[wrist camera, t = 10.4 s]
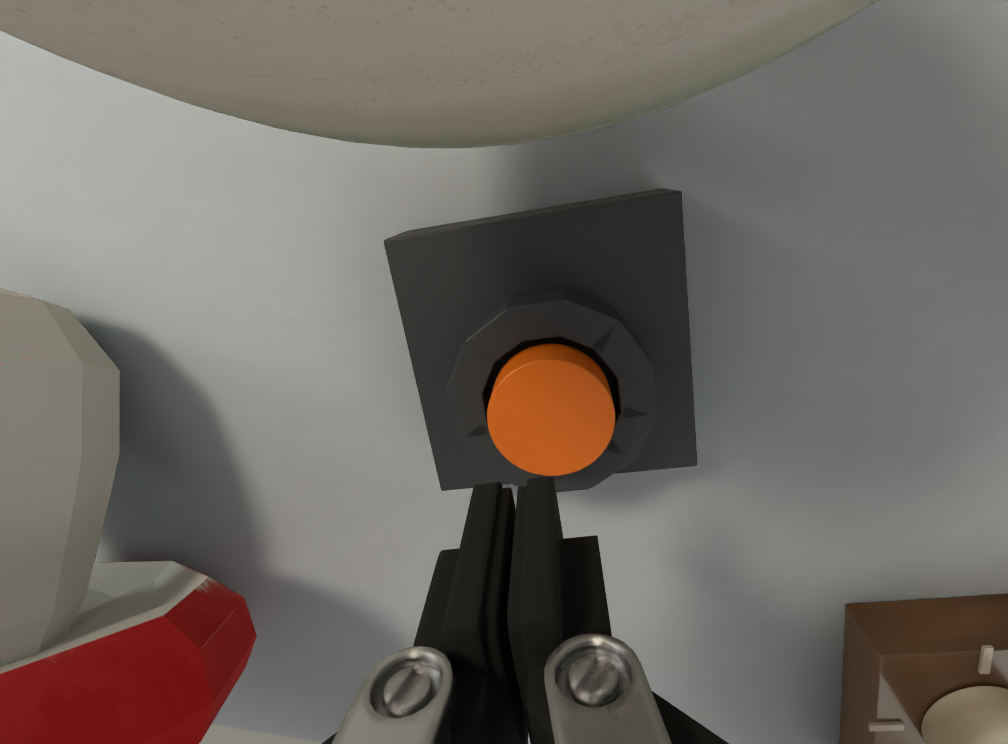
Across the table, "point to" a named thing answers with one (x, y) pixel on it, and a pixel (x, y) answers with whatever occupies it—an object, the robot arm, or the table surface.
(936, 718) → the dial
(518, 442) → the orange push button
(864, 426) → the table surface
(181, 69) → the planter
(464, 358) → the button base
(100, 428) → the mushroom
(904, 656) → the dial panel
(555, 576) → the robot arm
